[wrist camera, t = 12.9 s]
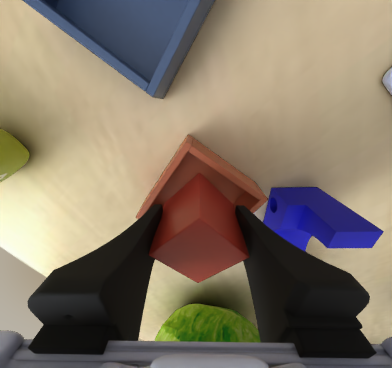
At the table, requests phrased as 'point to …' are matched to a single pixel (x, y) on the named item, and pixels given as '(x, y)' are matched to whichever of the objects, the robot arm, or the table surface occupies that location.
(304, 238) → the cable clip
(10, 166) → the dumbbell
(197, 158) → the red tray
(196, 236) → the red block
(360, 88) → the table surface
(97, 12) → the blue tray
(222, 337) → the lettuce
